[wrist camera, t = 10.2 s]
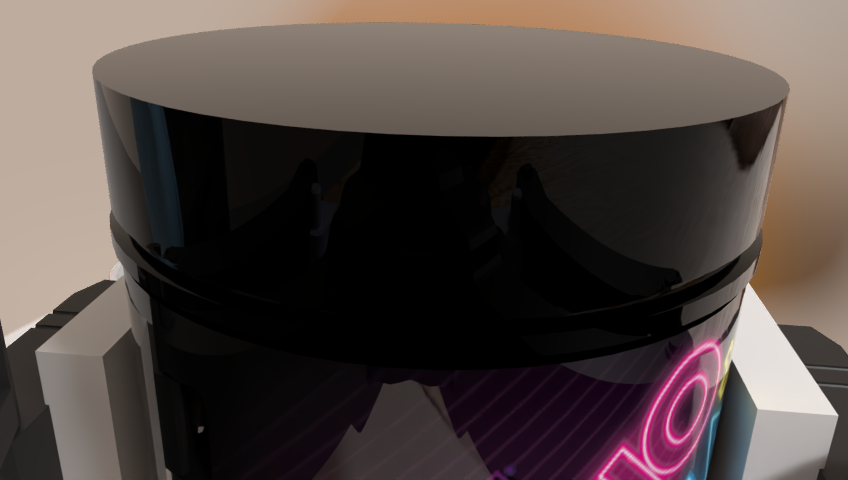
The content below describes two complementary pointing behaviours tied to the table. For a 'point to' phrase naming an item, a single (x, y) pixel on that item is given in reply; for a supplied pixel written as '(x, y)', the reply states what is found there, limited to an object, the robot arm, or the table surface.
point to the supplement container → (434, 248)
